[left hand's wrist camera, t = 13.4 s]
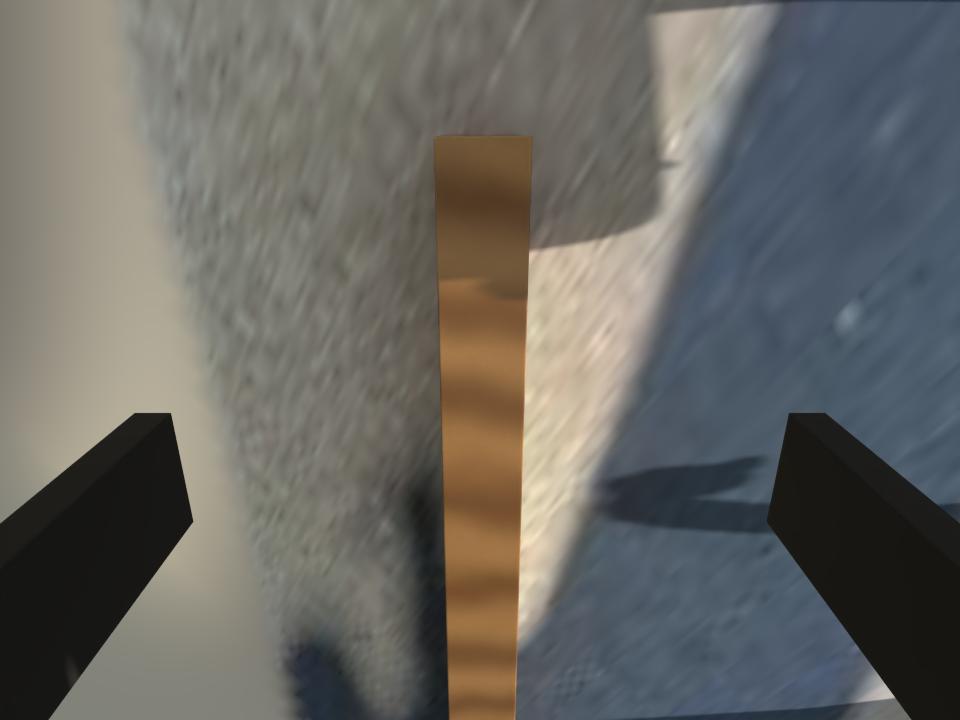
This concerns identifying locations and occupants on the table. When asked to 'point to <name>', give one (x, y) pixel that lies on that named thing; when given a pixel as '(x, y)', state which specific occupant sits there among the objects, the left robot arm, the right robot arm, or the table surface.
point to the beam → (482, 408)
